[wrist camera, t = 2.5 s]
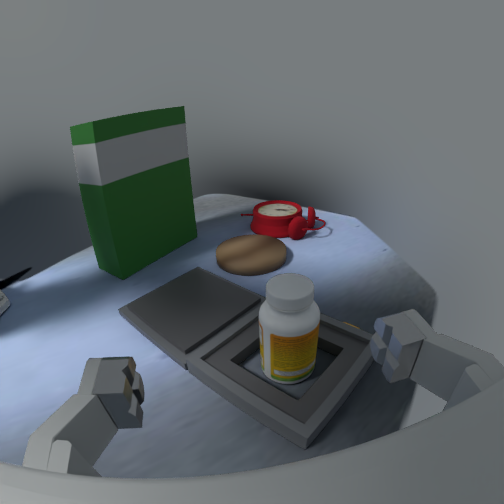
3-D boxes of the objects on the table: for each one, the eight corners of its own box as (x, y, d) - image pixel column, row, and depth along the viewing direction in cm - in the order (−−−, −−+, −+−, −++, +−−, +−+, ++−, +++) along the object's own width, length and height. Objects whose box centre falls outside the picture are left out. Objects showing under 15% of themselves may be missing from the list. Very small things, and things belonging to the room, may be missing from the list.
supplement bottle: (325, 366, 30) (336, 285, 26) (285, 395, 27) (288, 313, 23) (289, 340, 34) (291, 262, 30) (250, 363, 31) (244, 283, 27)
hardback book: (170, 229, 63) (155, 109, 52) (197, 236, 60) (184, 106, 49) (99, 268, 50) (69, 126, 40) (123, 280, 47) (92, 121, 36)
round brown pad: (202, 261, 51) (201, 252, 50) (248, 237, 58) (248, 229, 58) (255, 284, 44) (254, 274, 44) (299, 253, 52) (300, 245, 51)
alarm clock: (261, 198, 67) (328, 191, 59) (268, 225, 69) (334, 222, 61) (233, 213, 60) (307, 207, 51) (242, 245, 62) (314, 243, 53)
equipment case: (119, 314, 39) (115, 301, 38) (201, 269, 49) (200, 258, 48) (305, 449, 22) (307, 438, 21) (381, 348, 31) (385, 335, 31)
